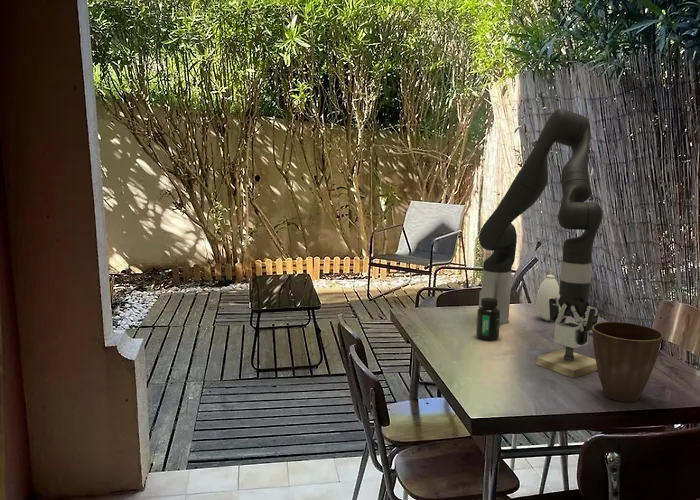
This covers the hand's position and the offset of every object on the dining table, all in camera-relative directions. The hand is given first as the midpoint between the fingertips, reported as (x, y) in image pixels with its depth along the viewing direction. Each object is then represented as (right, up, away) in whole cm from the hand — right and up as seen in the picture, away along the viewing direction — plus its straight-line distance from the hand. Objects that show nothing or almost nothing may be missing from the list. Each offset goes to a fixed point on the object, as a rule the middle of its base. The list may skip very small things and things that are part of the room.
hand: (570, 340), depth 161 cm
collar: (0, -1, 0) cm, 1 cm away
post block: (0, -7, +1) cm, 7 cm away
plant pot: (+5, -11, -18) cm, 21 cm away
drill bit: (+16, -2, +31) cm, 35 cm away
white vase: (+8, 0, +45) cm, 46 cm away
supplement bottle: (-16, -3, +25) cm, 30 cm away
